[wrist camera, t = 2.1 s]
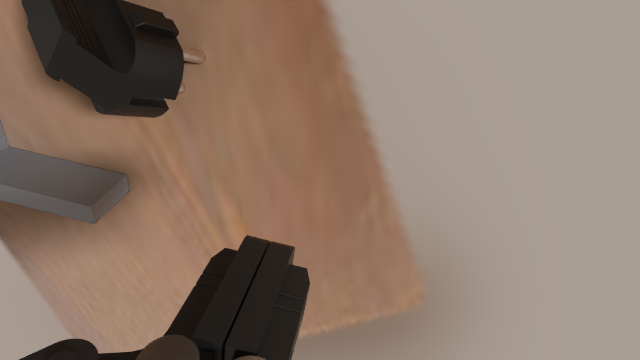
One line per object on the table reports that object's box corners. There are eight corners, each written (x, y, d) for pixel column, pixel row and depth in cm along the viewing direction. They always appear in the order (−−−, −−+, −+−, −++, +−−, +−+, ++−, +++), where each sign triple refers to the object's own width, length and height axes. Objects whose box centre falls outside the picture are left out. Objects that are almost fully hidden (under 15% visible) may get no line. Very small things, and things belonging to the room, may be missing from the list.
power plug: (11, -137, 18) (95, 45, 15) (156, -65, 25) (239, 75, 21) (-14, -36, 21) (51, 136, 18) (122, 5, 27) (190, 139, 24)
